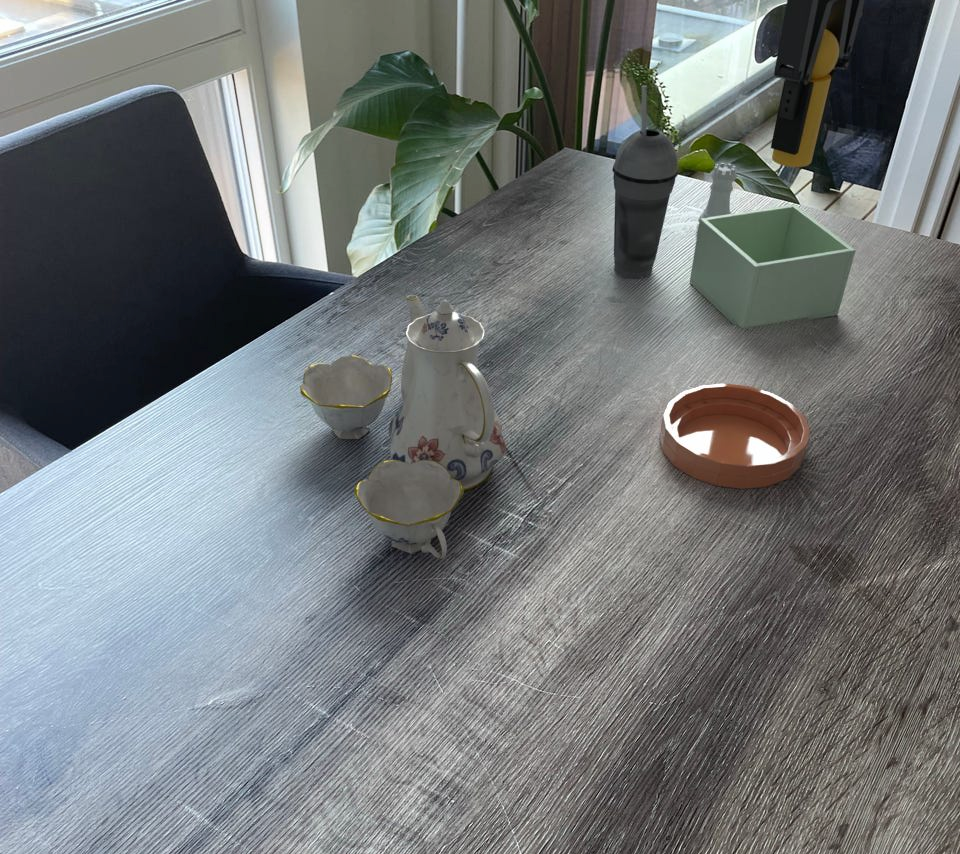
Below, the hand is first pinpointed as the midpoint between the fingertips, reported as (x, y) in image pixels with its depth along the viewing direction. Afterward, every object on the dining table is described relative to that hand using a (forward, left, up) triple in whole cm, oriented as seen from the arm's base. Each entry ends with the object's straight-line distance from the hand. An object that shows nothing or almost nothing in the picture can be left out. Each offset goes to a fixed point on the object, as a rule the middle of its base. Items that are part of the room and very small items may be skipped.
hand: (795, 143), depth 105 cm
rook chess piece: (-4, -18, -17) cm, 25 cm away
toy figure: (0, 0, -2) cm, 2 cm away
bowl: (+17, +24, -17) cm, 35 cm away
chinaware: (+46, +18, -17) cm, 53 cm away
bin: (-1, -1, -17) cm, 17 cm away
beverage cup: (+10, -12, -17) cm, 23 cm away
